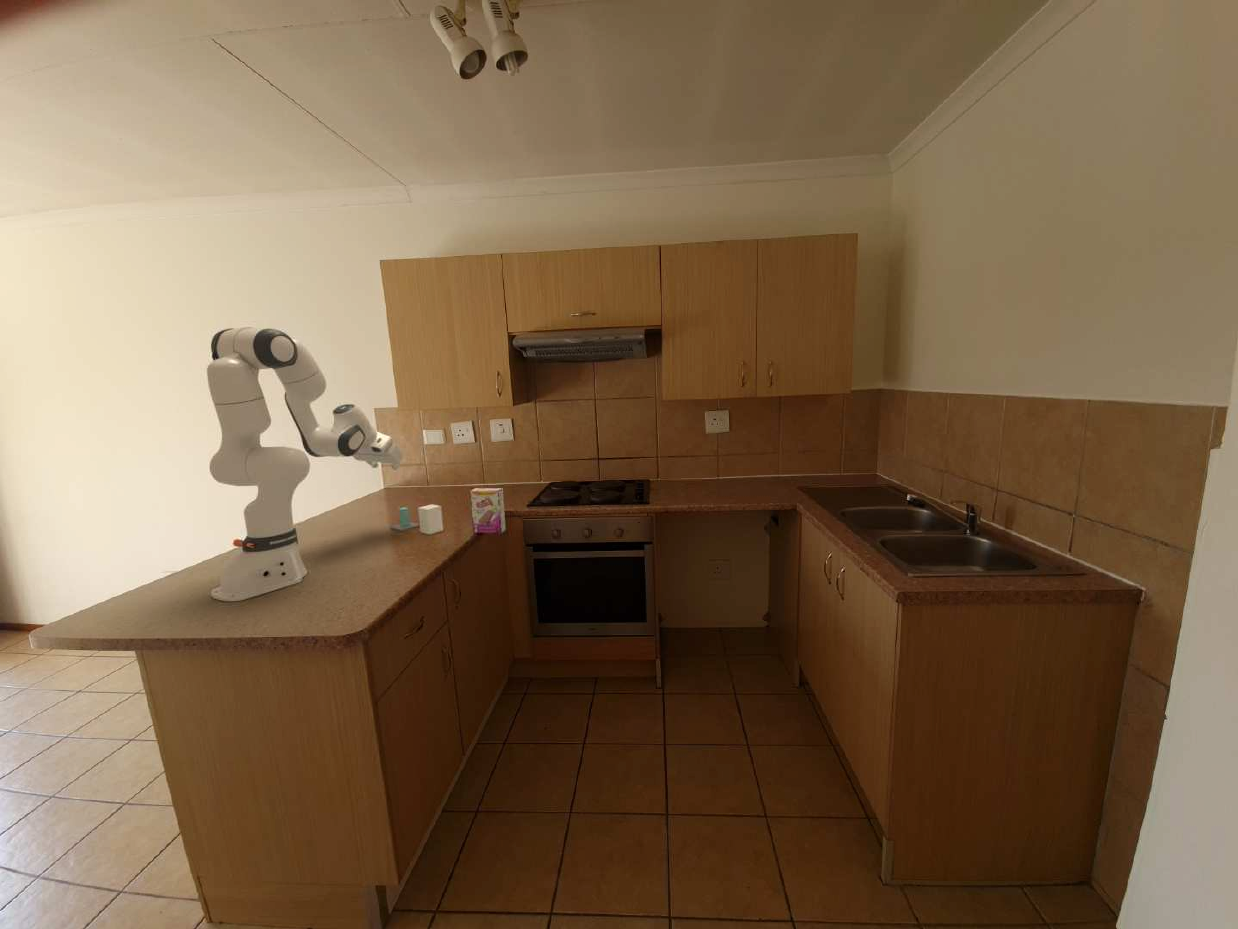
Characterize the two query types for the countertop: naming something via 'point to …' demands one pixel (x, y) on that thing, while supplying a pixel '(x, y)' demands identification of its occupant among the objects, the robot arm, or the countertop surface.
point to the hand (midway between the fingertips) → (386, 467)
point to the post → (404, 521)
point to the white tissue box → (430, 519)
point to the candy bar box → (488, 510)
